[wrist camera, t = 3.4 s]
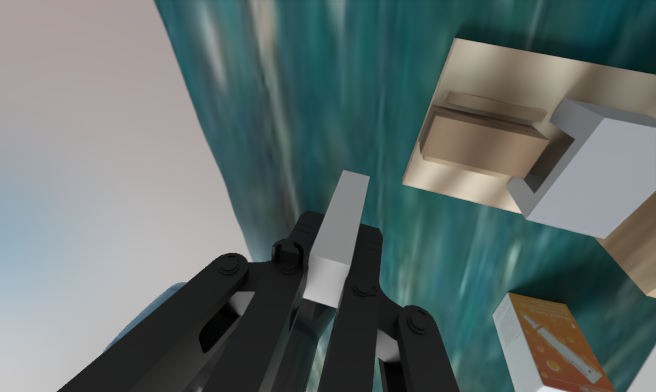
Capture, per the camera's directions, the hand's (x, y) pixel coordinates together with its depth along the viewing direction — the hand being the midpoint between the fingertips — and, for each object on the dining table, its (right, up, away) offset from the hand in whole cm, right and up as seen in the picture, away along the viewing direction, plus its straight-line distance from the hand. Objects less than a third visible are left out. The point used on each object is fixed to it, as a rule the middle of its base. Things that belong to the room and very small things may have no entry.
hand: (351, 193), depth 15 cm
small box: (+30, -18, +26) cm, 44 cm away
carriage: (+23, +4, +11) cm, 26 cm away
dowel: (+14, +6, +13) cm, 20 cm away
